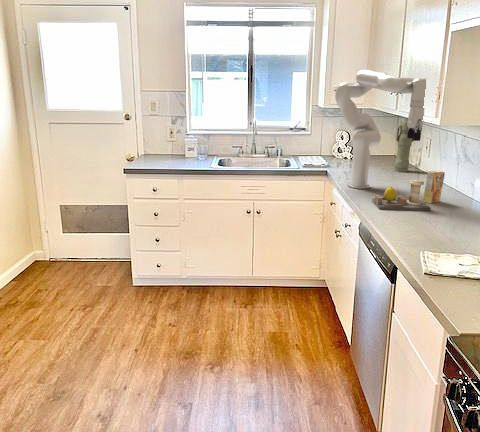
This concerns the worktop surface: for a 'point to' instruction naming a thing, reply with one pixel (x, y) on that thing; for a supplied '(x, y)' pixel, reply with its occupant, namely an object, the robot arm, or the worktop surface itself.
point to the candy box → (433, 186)
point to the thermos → (403, 147)
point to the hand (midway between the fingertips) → (413, 139)
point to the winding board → (398, 204)
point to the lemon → (390, 194)
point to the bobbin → (414, 192)
